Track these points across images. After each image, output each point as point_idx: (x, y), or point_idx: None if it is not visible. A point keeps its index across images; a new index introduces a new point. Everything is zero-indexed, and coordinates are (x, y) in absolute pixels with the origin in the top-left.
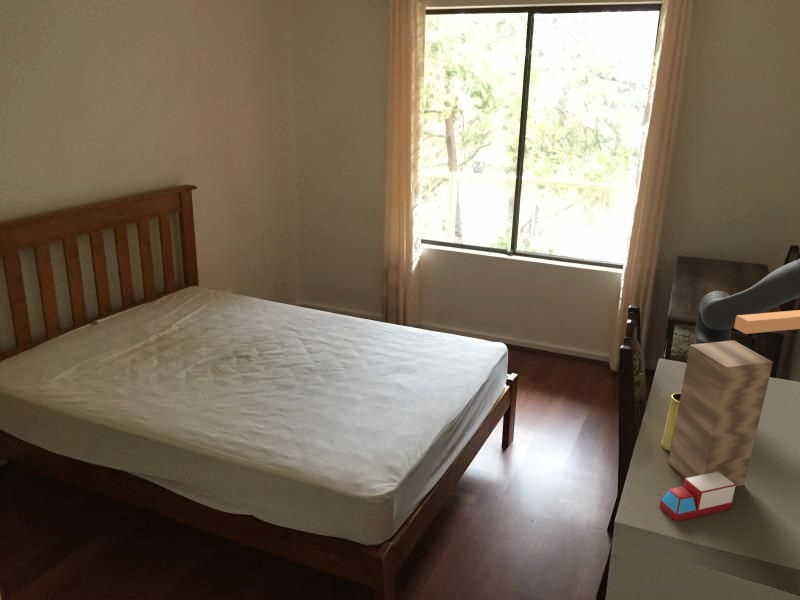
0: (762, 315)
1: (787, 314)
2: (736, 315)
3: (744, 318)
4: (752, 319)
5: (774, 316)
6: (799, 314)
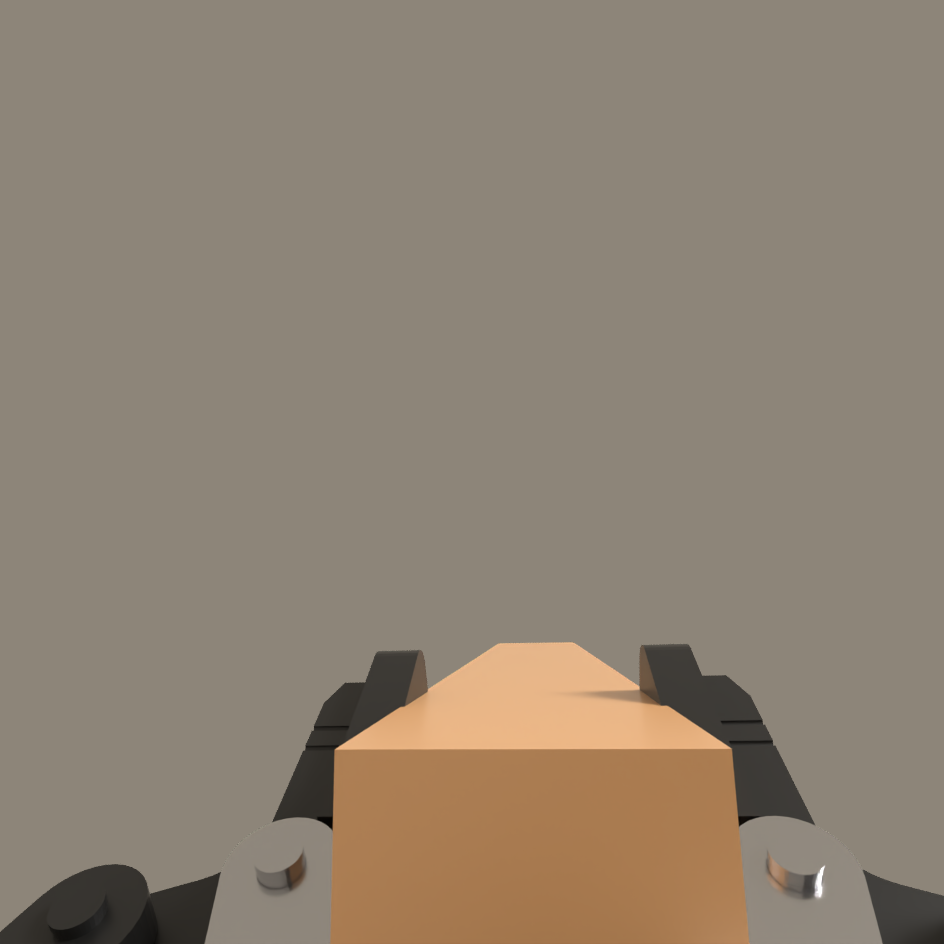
0: (548, 647)
1: (531, 655)
2: (572, 642)
3: (531, 643)
4: (511, 644)
5: (520, 650)
6: (510, 660)
